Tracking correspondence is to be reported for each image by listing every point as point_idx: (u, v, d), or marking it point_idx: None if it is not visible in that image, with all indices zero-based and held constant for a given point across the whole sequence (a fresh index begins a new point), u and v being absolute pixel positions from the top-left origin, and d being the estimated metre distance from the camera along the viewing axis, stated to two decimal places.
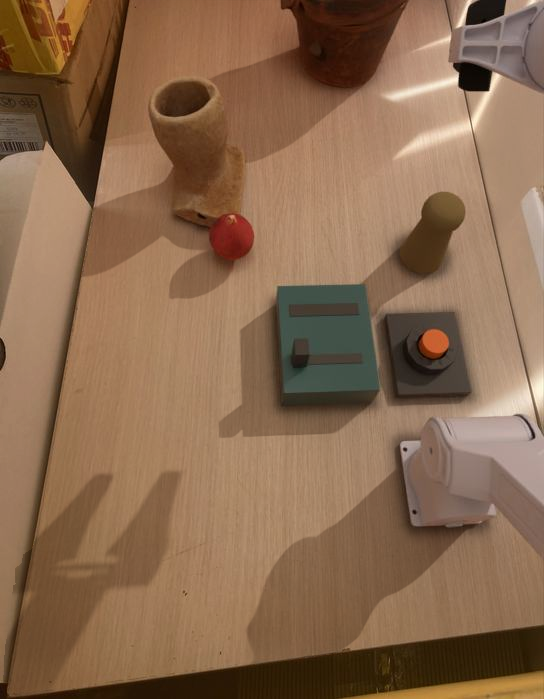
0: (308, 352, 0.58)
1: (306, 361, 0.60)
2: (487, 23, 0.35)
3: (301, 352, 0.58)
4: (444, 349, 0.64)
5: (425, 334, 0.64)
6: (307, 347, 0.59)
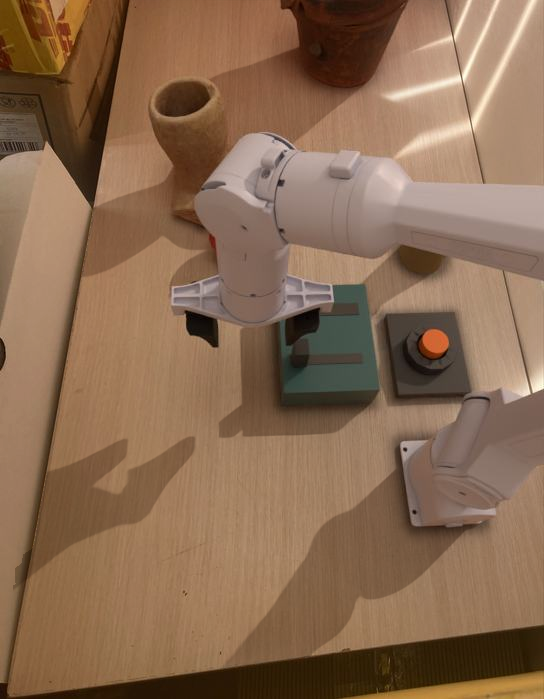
0: (308, 352, 0.58)
1: (306, 361, 0.60)
2: (189, 284, 0.48)
3: (301, 352, 0.58)
4: (444, 349, 0.64)
5: (425, 334, 0.64)
6: (307, 347, 0.59)
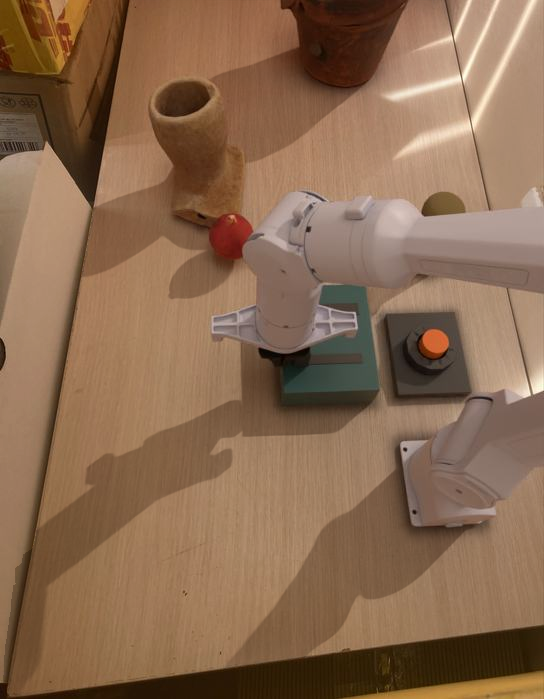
0: (309, 352, 0.58)
1: (307, 361, 0.60)
2: (227, 314, 0.53)
3: None
4: (444, 349, 0.64)
5: (425, 334, 0.64)
6: None
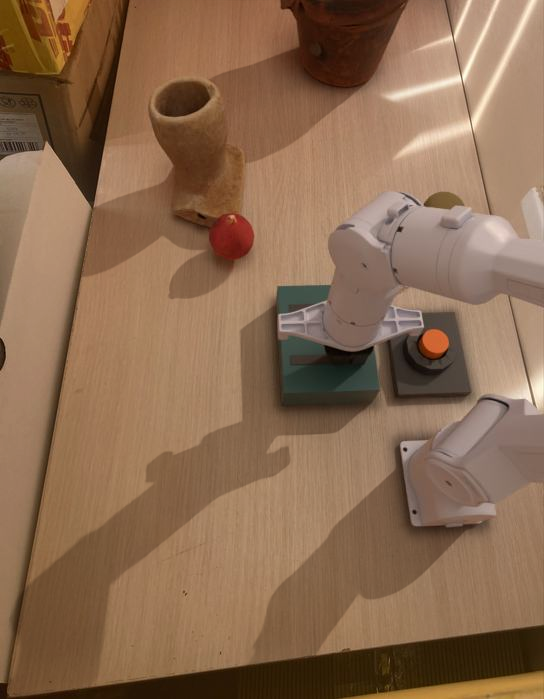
0: None
1: (365, 359, 0.60)
2: (294, 312, 0.54)
3: None
4: (444, 349, 0.64)
5: (425, 334, 0.64)
6: None
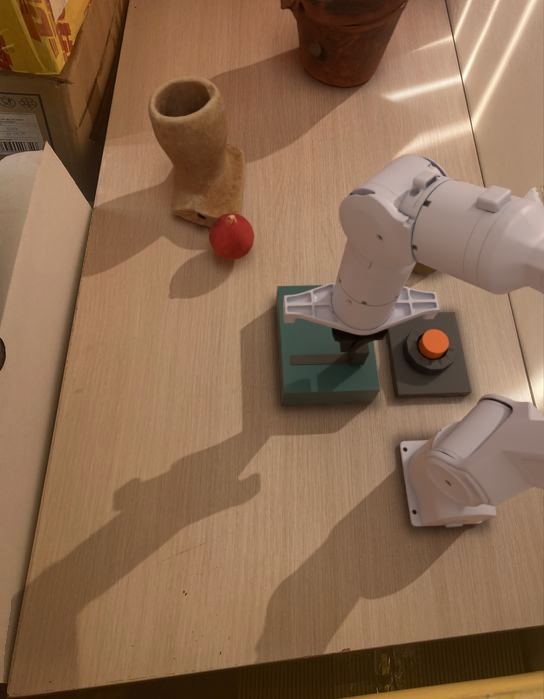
0: (368, 350, 0.59)
1: (364, 359, 0.60)
2: (301, 293, 0.50)
3: (361, 351, 0.59)
4: (444, 349, 0.64)
5: (425, 334, 0.64)
6: (367, 345, 0.59)
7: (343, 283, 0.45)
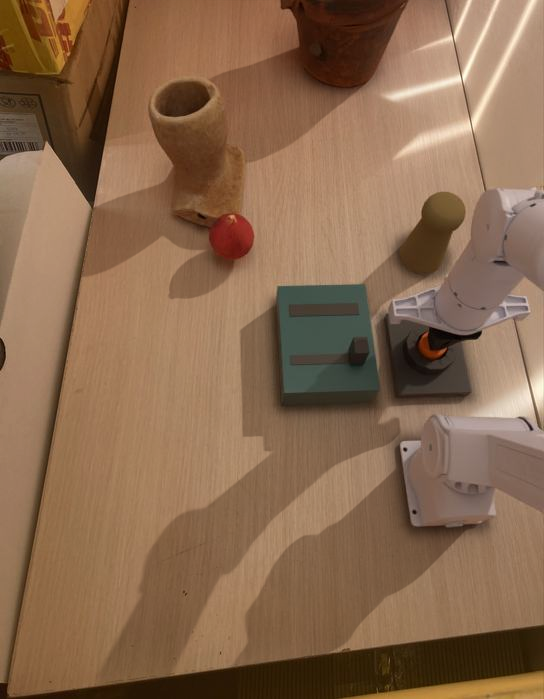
0: (368, 350, 0.59)
1: (364, 359, 0.60)
2: (407, 297, 0.56)
3: (361, 351, 0.59)
4: (442, 351, 0.64)
5: (424, 336, 0.65)
6: (367, 345, 0.59)
7: (452, 270, 0.52)
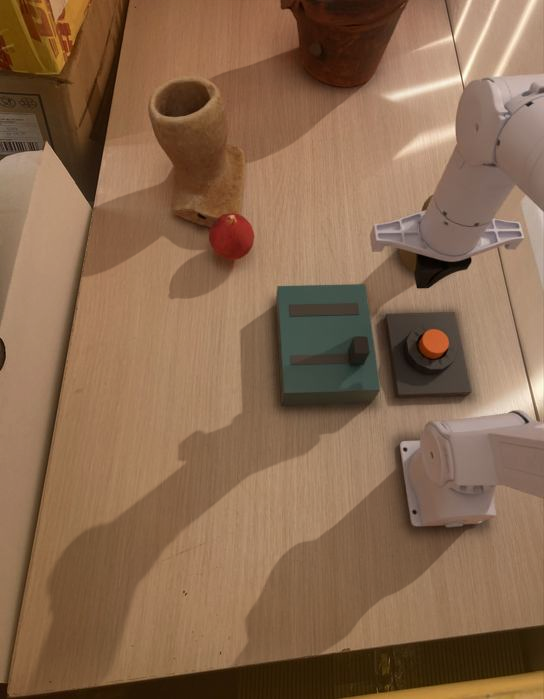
0: (368, 350, 0.59)
1: (364, 359, 0.60)
2: (390, 222, 0.52)
3: (361, 351, 0.59)
4: (444, 349, 0.64)
5: (425, 334, 0.64)
6: (367, 345, 0.59)
7: (437, 189, 0.47)
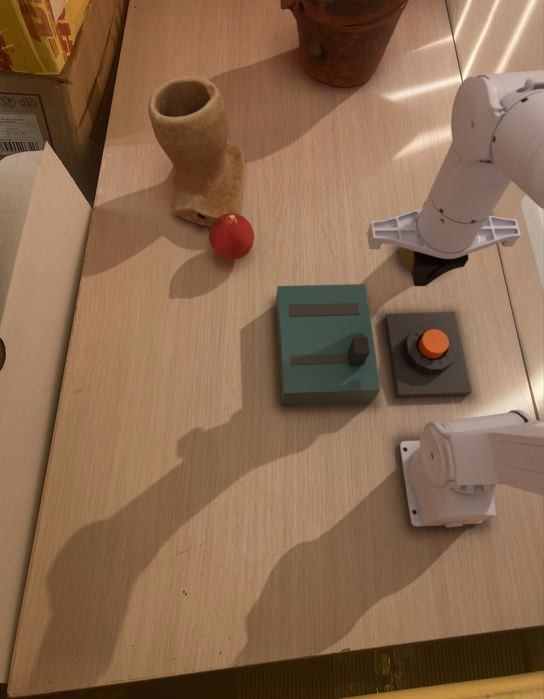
0: (368, 350, 0.59)
1: (364, 359, 0.60)
2: (387, 219, 0.52)
3: (361, 351, 0.59)
4: (444, 349, 0.64)
5: (425, 334, 0.64)
6: (367, 345, 0.59)
7: (433, 186, 0.47)
